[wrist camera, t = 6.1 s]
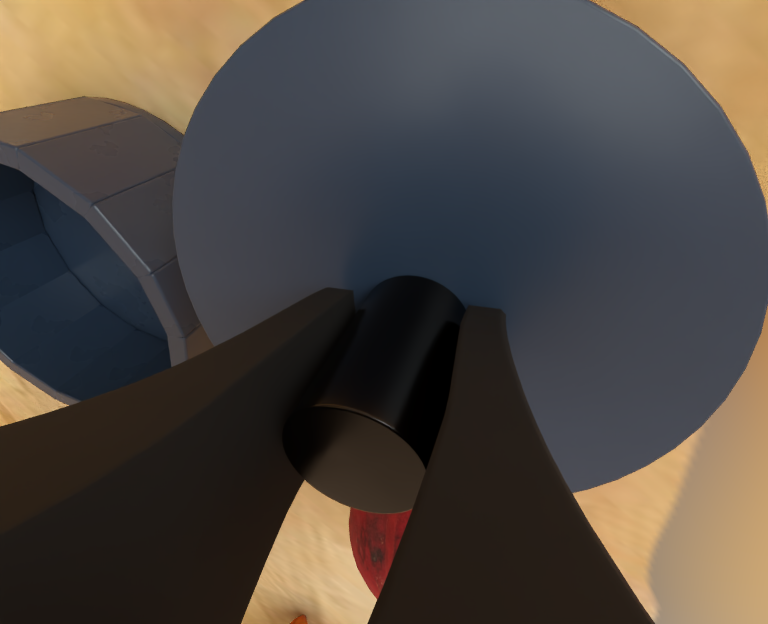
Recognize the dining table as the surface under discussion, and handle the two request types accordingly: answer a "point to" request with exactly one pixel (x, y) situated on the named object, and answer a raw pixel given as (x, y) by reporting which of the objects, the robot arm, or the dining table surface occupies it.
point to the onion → (375, 544)
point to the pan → (90, 248)
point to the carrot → (299, 620)
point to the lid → (476, 227)
